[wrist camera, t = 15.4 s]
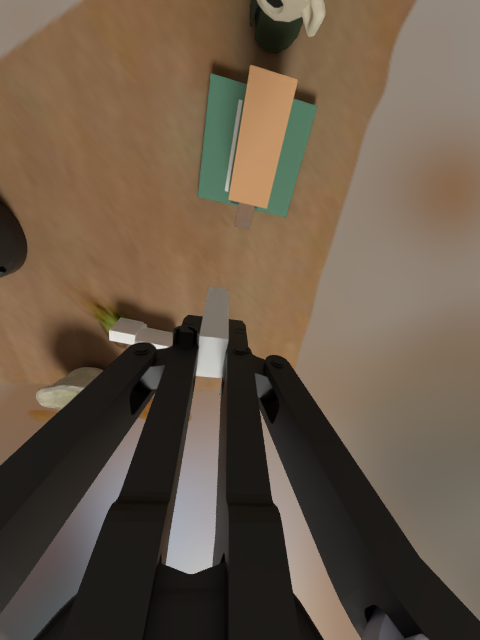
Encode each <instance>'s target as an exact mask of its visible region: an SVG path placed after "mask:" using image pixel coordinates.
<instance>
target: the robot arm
mask: <svg viewBox="0 0 480 640" xmlns="http://www.w3.org/2000/svg"><path fill="white" fill-rule="evenodd" d="M26 255H27V246H26V240H25V237H24V234H23V232H22V229H21V227H20V226H19V224H18V222H17V221H16V219H15V218H14V216H13V215H12V214H11V212H10V211H9V210H8V209H7V208H6V207H5V206H4V205H3V204H2V203H1V202H0V278H1V277H4V276H6V275H9V274H11V273H14V272H16V271H17V270H18V269H20V268H21V266H22V265H23V264H24V262H25V259H26ZM222 375H223V377H222ZM196 376H204V377H215V378H222V384H221V389H220V395H221V404H220V430H219V455H218V481H217V506H216V534H215V544H214V555H213V567H210V568H208V569H205V570H203V571H200V572H198V573H195V574H187V573H184V572H182V571H179V570H177V569H174V568H171V567H169V566H166V565H165V564H166V557H167V550H168V542H169V536H170V529H171V523H172V518H173V512H174V506H175V499H176V493H177V487H178V481H179V476H180V469H181V464H182V458H183V451H184V445H185V440H186V434H187V428H188V422H189V416H190V409H191V404H192V398H193V392H194V386H195V377H196ZM155 392H156V393H155ZM154 394H155V396H154V398H153V401H152V404H151V407H150V410H149V413H148V416H147V418H146V422H145V424H144V427H143V430H142V433H141V436H140V438H139V441H138V444H137V447H136V450H135V453H134V456H133V458H132V461H131V464H130V467H129V470H128V473H127V475H126V478H125V481H124V484H123V487H122V490H121V492H120V495H119V497H118V499H117V500H116V501H115V502H114V503H113V504H112V505H111V507H110V509H109V510H108V513H107V515H106V518H105V520H104V522H103V525H102V528H101V531H100V533H99V536H98V539H97V541H96V544H95V547H94V549H93V552H92V555H91V558H90V560H89V563H88V566H87V569H86V571H85V574H84V577H83V579H82V582H81V585H80V587H79V590H78V593H77V594H76V595H75V596H73V597H72V598H71V599H70V600H69V601H68V602H67V603H66V604H65V605H64V606H63V607H62V608H61V609H60V610H59V611H58V612H57V613H56V615H54V617H53V618H52V619H51V620H50V621H49V622H48V624H46V626H45V627H44V628H43V629H42V630H41V632H39V634H38V635H37V636H36V637H35V638H34V640H324V639H323V638H322V636H321V635H320V633H319V631H318V629H317V628H316V626H315V625H314V623H313V622H312V620H311V618H310V616H309V615H308V614H307V612H306V610H305V608H304V607H303V606H302V604H301V602H300V601H299V600H298V598H297V597H296V596H295V595H294V593H293V590H292V584H291V578H290V571H289V565H288V559H287V552H286V546H285V540H284V533H283V527H282V521H281V517H280V513H279V510H278V508H277V506H276V505H275V504H274V503H273V501H272V496H271V489H270V482H269V475H268V467H267V460H266V452H265V445H264V438H263V431H262V423H261V416H260V411H261V413H262V416H263V418H264V420H265V423H266V425H267V428H268V430H269V433H270V435H271V437H272V440H273V442H274V445H275V447H276V449H277V452H278V454H279V457H280V459H281V461H282V464H283V466H284V469H285V471H286V474H287V476H288V478H289V481H290V483H291V486H292V488H293V491H294V493H295V495H296V498H297V500H298V503H299V505H300V507H301V510H302V512H303V515H304V517H305V520H306V522H307V524H308V527H309V529H310V532H311V534H312V536H313V539H314V541H315V544H316V546H317V549H318V551H319V553H320V556H321V558H322V561H323V563H324V565H325V568H326V570H327V573H328V575H329V577H330V580H331V582H332V584H333V586H334V589H335V591H336V593H337V595H338V597H339V600H340V602H341V603H342V605H343V607H344V609H345V611H346V613H347V615H348V617H349V618H350V620H351V622H352V624H353V626H354V627H355V629H356V631H357V632H358V634H359V636H360V637H361V640H480V621H479V620H478V619H477V618H476V617H475V616H474V615H473V613H472V612H471V611H469V609H468V608H467V607H466V606H465V605H464V604H463V603H462V602H461V601H460V600H459V599H458V597H457V596H456V595H455V594H454V593H453V592H452V591H451V590H450V589H449V588H448V587H447V586H446V585H445V584H444V583H443V582H442V580H441V579H440V578H439V577H438V576H437V575H436V574H435V573H434V572H433V571H432V570H431V569H430V568H429V567H428V566H427V565H426V564H425V562H424V561H423V560H422V559H421V558H420V557H419V555H418V554H417V552H416V551H415V550H414V548H413V547H412V545H411V544H410V542H409V541H408V539H407V538H406V536H405V535H404V533H403V532H402V530H401V529H400V527H399V526H398V524H397V523H396V521H395V520H394V518H393V517H392V516H391V514H390V512H389V511H388V509H387V508H386V507H385V505H384V503H383V502H382V501H381V499H380V497H379V496H378V494H377V493H376V491H375V490H374V489H373V487H372V486H371V484H370V482H369V481H368V479H367V478H366V477H365V475H364V474H363V472H362V471H361V469H360V468H359V466H358V465H357V463H356V462H355V460H354V459H353V457H352V456H351V454H350V453H349V451H348V450H347V448H346V447H345V445H344V444H343V442H342V441H341V439H340V438H339V436H338V435H337V433H336V432H335V430H334V429H333V427H332V426H331V424H330V423H329V422H328V420H327V419H326V417H325V415H324V414H323V412H322V411H321V409H320V408H319V407H318V405H317V404H316V402H315V401H314V399H313V398H312V396H311V395H310V393H309V392H308V390H307V389H306V387H305V386H304V384H303V383H302V381H301V380H300V378H299V377H298V375H297V374H296V372H295V371H294V369H293V368H292V366H291V365H290V363H289V362H288V361H287V360H286V359H285V358H283V357H281V356H278V355H270V356H268V357H267V358H266V360H265V359H262V358H259V357H256V356H255V355H253V354H252V352H251V349H250V348H249V347H248V341H247V333H246V325H245V324H244V323H243V321H239V320H231V319H229V289H221V288H214V287H209V289H208V294H207V299H206V304H205V309H204V314H203V317H202V316H194V315H188V316H186V317H185V318H184V320H183V323H182V326H178V327H176V328H175V329H174V330H173V344H172V346H170V347H167V348H163V349H156V347H155V346H154V345H153V344H151V343H147V342H139V343H135V344H133V345H131V346H130V347H128V348H127V349H126V350H125V351H124V352H123V353H122V354H121V355H120V356H119V357H118V358H117V359H115V360H114V361H113V362H112V363H111V364H110V365H109V366H108V367H107V368H106V369H105V370H104V371H102V372H101V373H100V374H99V375H98V376H97V377H96V378H95V379H94V380H93V381H92V382H91V383H89V384H88V385H87V386H86V387H85V388H84V389H83V390H82V391H81V392H80V393H79V394H77V395H76V396H75V397H74V398H73V399H72V400H71V401H70V402H69V403H68V404H67V405H66V406H64V407H63V408H62V409H61V410H60V411H59V412H58V413H57V414H56V415H55V416H54V417H53V418H51V419H50V420H49V421H48V422H47V423H46V424H45V425H44V426H43V427H42V428H41V429H40V430H38V431H37V432H36V433H35V434H34V435H33V436H32V437H31V438H30V439H29V440H28V441H27V442H25V443H24V444H23V445H22V446H21V447H20V448H19V449H18V450H17V451H16V452H15V453H14V454H12V455H11V456H10V457H9V458H8V459H7V460H6V461H5V462H4V463H3V464H2V465H0V613H1V612H2V611H3V609H4V608H5V607H6V605H7V604H8V603H9V601H10V600H11V599H12V597H13V596H14V595H15V593H16V592H17V591H18V589H19V588H20V586H21V585H22V584H23V582H24V581H25V580H26V578H27V577H28V575H29V574H30V572H31V571H32V569H33V568H34V566H35V565H36V564H37V562H38V561H39V559H40V558H41V557H42V555H43V554H44V552H45V551H46V549H47V548H48V546H49V545H50V544H51V542H52V541H53V539H54V538H55V536H56V535H57V533H58V532H59V531H60V529H61V527H62V526H63V525H64V523H65V522H66V520H67V519H68V518H69V516H70V515H71V513H72V512H73V510H74V509H75V507H76V506H77V504H78V503H79V502H80V500H81V499H82V497H83V496H84V495H85V493H86V492H87V490H88V489H89V487H90V486H91V484H92V483H93V482H94V480H95V479H96V477H97V476H98V474H99V473H100V471H101V470H102V468H103V467H104V466H105V464H106V463H107V461H108V460H109V458H110V457H111V456H112V454H113V453H114V451H115V450H116V448H117V447H118V445H119V444H120V443H121V441H122V440H123V438H124V436H125V435H126V434H127V432H128V431H129V430H130V428H131V427H132V425H133V424H134V422H135V421H136V419H137V418H138V417H139V415H140V414H141V412H142V411H143V409H144V408H145V407H146V405H147V404H148V402H149V401H150V399H151V398H152V396H153V395H154ZM259 408H260V409H259Z"/></svg>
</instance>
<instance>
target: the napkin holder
mask: <svg viewBox="0 0 480 640" xmlns="http://www.w3.org/2000/svg"><path fill="white" fill-rule="evenodd" d="M109 340H111V341H116V342H121V343H126V344H131V345H133V344H135V343H139V342H147V343H151V344H153V345H154V346H155V347H156V349H163V348H167V347H170V346H172V344H173V333H172V332H167V331H162V330H157V329H152V328H147V324H144V322H141V321H136V320H131V319H126V318H121V317H120V319H119V320H118V321H117V322H116V323H115V324H114V325H113V327H112V328H111V329H110V330H109Z"/></svg>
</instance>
